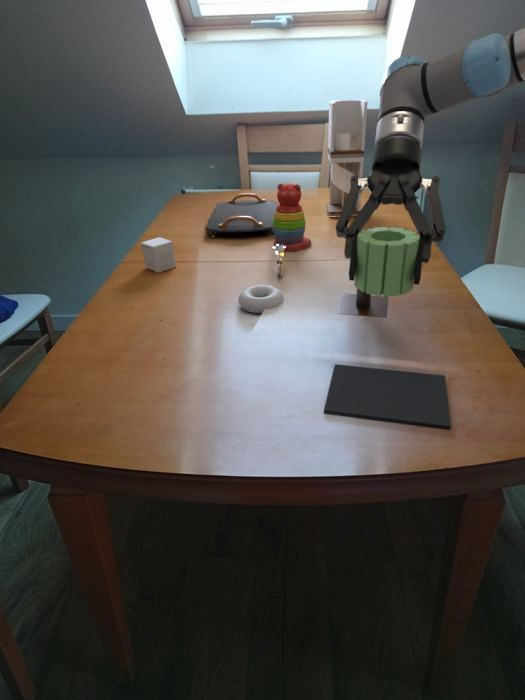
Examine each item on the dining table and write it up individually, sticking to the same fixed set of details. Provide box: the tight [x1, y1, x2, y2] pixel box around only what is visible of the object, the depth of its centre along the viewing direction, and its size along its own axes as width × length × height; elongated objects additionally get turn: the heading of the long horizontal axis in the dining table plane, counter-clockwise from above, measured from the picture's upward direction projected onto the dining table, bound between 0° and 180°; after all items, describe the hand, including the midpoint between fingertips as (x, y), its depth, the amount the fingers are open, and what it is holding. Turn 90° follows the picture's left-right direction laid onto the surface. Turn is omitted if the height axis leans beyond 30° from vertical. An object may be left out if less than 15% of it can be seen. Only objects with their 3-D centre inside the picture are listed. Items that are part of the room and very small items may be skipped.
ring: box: [272, 243, 285, 276], centre depth 116 cm, size 7×3×8 cm, turn 175°
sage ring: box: [354, 226, 420, 297], centre depth 73 cm, size 9×9×8 cm
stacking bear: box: [272, 183, 312, 253], centre depth 132 cm, size 11×10×18 cm
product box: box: [140, 236, 177, 274], centre depth 124 cm, size 6×6×7 cm
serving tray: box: [204, 192, 279, 237], centre depth 159 cm, size 39×23×6 cm, turn 178°
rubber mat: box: [323, 363, 452, 430], centre depth 73 cm, size 18×13×1 cm
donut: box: [238, 284, 284, 314], centre depth 102 cm, size 10×4×10 cm
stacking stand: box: [336, 288, 389, 319], centre depth 96 cm, size 10×10×9 cm
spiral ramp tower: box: [325, 99, 368, 216], centre depth 156 cm, size 11×11×35 cm
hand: (383, 278), depth 71 cm, fingers closed on sage ring, 9 cm apart
